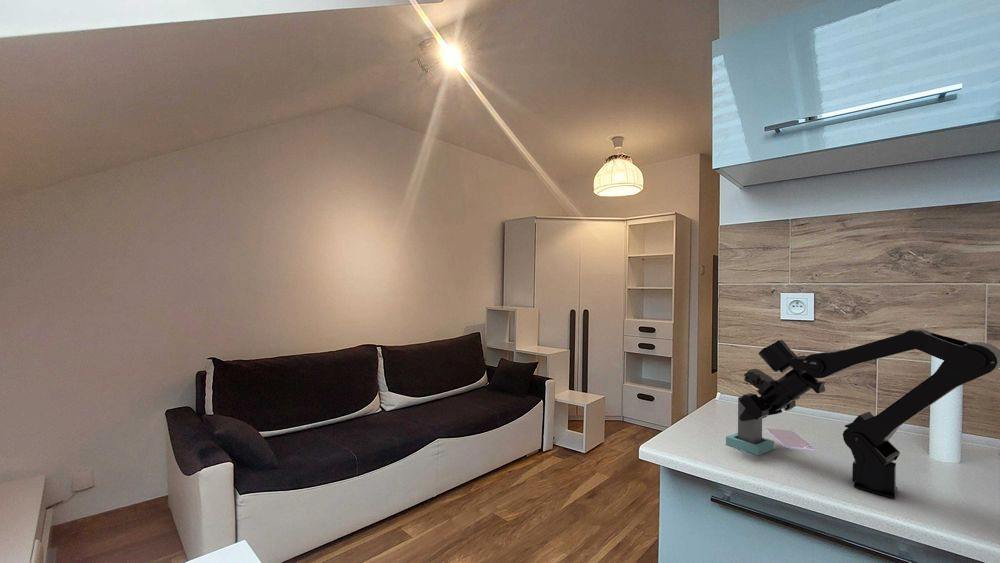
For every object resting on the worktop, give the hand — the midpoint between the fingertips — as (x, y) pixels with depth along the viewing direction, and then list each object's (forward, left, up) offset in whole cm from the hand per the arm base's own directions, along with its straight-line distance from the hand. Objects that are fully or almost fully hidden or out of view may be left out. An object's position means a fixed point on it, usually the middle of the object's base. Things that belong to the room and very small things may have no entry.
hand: (744, 418), depth 113 cm
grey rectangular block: (-1, 0, -7) cm, 7 cm away
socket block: (-1, 0, -7) cm, 8 cm away
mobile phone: (-7, -15, -8) cm, 18 cm away
